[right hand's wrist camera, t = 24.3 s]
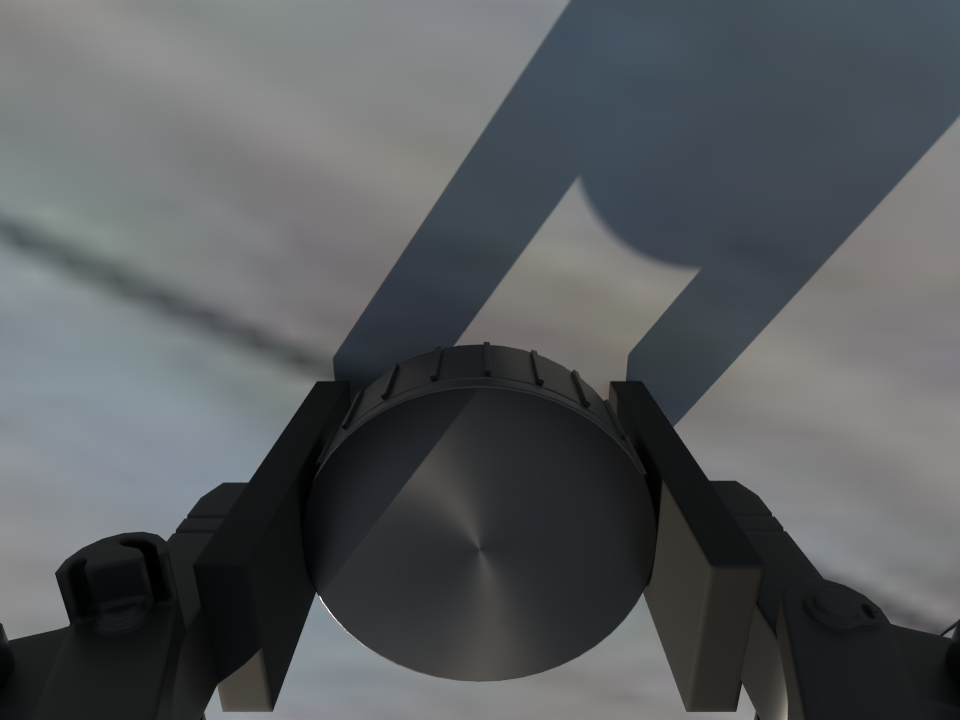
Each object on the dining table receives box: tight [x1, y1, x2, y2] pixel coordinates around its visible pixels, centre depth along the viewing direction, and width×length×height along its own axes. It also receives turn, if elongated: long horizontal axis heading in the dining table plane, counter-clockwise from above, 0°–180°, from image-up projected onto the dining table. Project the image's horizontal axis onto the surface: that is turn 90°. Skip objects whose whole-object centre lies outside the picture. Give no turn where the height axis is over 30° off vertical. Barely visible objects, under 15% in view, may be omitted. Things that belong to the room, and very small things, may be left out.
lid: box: [302, 342, 657, 682], centre depth 11 cm, size 6×6×2 cm
